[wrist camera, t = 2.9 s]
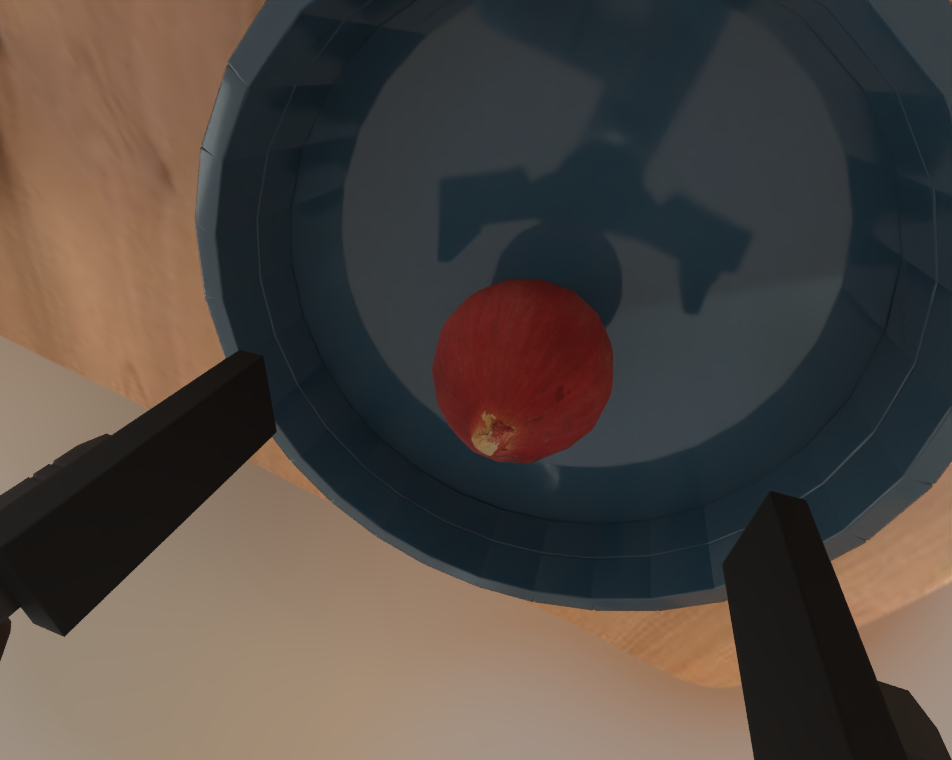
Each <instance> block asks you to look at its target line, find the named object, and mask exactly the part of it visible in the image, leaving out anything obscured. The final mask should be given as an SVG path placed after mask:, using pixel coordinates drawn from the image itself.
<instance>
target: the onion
mask: <svg viewBox="0 0 952 760" xmlns="http://www.w3.org/2000/svg"><path fill="white" fill-rule="evenodd" d="M432 375H433V382H434V388H435V395H436V400H437V404H438V407H439V409H440V411H441V412H442V414H443V416H444V418H445V419H446V421H447V423H448V425H449V427H450V428H451V429H452V430H453V431H454V432H455V433H456V435H457V436H458V437H459V438H460V439H461V440H462V441H463V442H464V443H465V444H466V445H467V446H468V447H469V448H470V449H471V450H472V451H473V452H476V453H478V454H480V455H483V456H485V457H487V458H490V459H492V460H494V461H497V462H509V463H524V464H529V463H533V462H536V461H538V460H541V459H543V458H546V457H548V456H550V455H553V454H555V453H558V452H560V451H563V450H566V449H568V448H570V447H571V446H572V445H573V444H575V443H576V442H577V441H578V440H580V439H581V438H582V437H584V436H585V435H586V434H587V433H589V432H590V431H591V430H592V429H593V428H594V426H595V424H596V423H597V421H598V420H599V418H600V416H601V414H602V412H603V410H604V408H605V406H606V404H607V402H608V400H609V398H610V396H611V391H612V386H613V350H612V345H611V341H610V339H609V337H608V334H607V332H606V330H605V328H604V326H603V323H602V321H601V319H600V317H599V314H598V313H597V312H596V311H595V310H594V309H592V308H591V307H590V306H589V305H588V304H587V303H586V302H585V301H584V300H583V299H582V298H581V297H580V296H579V295H578V294H576V293H575V292H574V291H572V290H570V289H567V288H564V287H561V286H559V285H556V284H553V283H550V282H548V281H545V280H542V279H507V280H504V281H502V282H499V283H497V284H494V285H491V286H489V287H486V288H484V289H481V290H479V291H477V292H476V293H474V294H472V295H471V296H469V297H468V298H467V299H466V300H465V301H464V302H463V303H462V304H461V305H460V306H459V307H458V308H457V309H456V310H455V311H454V312H453V314H452V315H451V316H450V317H449V318H448V319H447V321H446V322H445V324H444V326H443V328H442V329H441V332H440V336H439V340H438V344H437V348H436V352H435V356H434V360H433V366H432Z"/></svg>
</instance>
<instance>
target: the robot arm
mask: <svg viewBox="0 0 952 760" xmlns="http://www.w3.org/2000/svg"><path fill="white" fill-rule="evenodd" d="M276 432H277V430H276V424H275V419H274V413H273V407H272V401H271V396H270V390H269V384H268V379H267V373H266V367H265V362H264V356H262V355H258V354H255V353H251V352H247V351H243V350H238V351H237V352H235V353H234V354H232V355H231V356H229V357H228V358H226V359H225V360H223V361H222V362H220V363H219V364H217V365H216V366H214V367H213V368H211V369H210V370H208V371H207V372H205V373H204V374H202V375H201V376H199V377H198V378H196V379H195V380H193V381H192V382H190V383H189V384H187V385H186V386H184V387H183V388H181V389H180V390H178V391H177V392H175V393H174V394H173V395H171V396H170V397H168V398H167V399H165V400H164V401H162V402H161V403H159V404H158V405H156V406H155V407H153V408H152V409H150V410H149V411H147V412H146V413H144V414H143V415H141V416H140V417H138V418H137V419H135V420H134V421H132V422H131V423H129V424H128V425H126V426H125V427H123V428H122V429H120V430H119V431H117V432H116V433H114V434H113V435H109V434H104V435H102V436H99V437H97V438H95V439H92V440H90V441H87V442H85V443H82V444H80V445H78V446H76V447H74V448H73V449H71V450H70V451H68V452H67V453H65V454H64V455H62V456H61V457H59V458H57V459H56V460H54V463H53V464H52V465H50V464H48V465H47V466H45V467H44V468H42V469H41V470H39V471H37V472H36V473H34V475H33V477H32V478H29V477H28V478H27V479H25V480H24V481H22V482H21V483H19V484H18V485H16V486H14V487H13V488H11V489H10V490H8V491H7V492H5V493H3V494H2V495H0V660H1V657H2V655H3V652H4V649H5V646H6V643H7V640H8V637H9V635H10V631H11V621H10V619H9V618H8V617H9V616H10V615H12V614H13V613H14V612H15V611H16V610H17V609H19V608H20V607H21V608H22V609H23V610H24V612H25V613H26V614H27V616H28V617H29V618H30V620H31V621H32V622H33V623H34V624H36V625H38V626H40V627H43V628H45V629H47V630H50V631H52V632H54V633H57V634H59V635H61V636H64V637H65V636H66V635H67V634H68V633H69V632H70V631H71V630H72V629H73V628H74V627H75V626H76V625H77V624H78V623H79V622H80V621H81V620H82V619H83V618H84V617H85V616H86V615H87V614H88V613H89V612H91V611H92V609H94V608H95V607H96V606H97V605H98V604H99V603H100V602H101V601H102V600H103V599H104V598H105V597H106V596H107V595H108V594H109V593H110V592H111V591H112V590H113V589H114V588H115V587H116V586H118V585H119V584H120V583H121V582H122V581H123V580H124V579H125V578H126V577H127V576H128V575H129V574H130V573H131V572H132V571H133V570H134V569H135V568H136V567H137V566H138V565H139V564H140V563H141V562H142V561H143V560H144V559H146V557H147V556H149V555H150V553H152V552H153V551H154V550H155V549H156V548H157V547H158V546H159V545H160V544H161V543H162V542H163V541H164V540H165V539H166V538H167V537H168V536H169V535H170V534H171V533H172V532H174V530H175V529H177V528H178V526H180V525H181V524H182V523H183V522H184V521H185V520H186V519H187V518H188V517H189V516H190V515H191V514H192V513H193V512H194V511H195V510H196V509H197V508H198V507H199V506H200V505H201V504H203V503H204V502H205V501H206V499H208V498H209V497H210V496H211V495H212V494H213V493H214V492H215V491H216V490H217V489H218V488H219V487H220V486H221V485H222V484H223V483H224V482H225V481H226V480H227V479H228V478H229V477H231V476H232V475H233V474H234V473H235V472H236V471H237V470H238V469H239V468H240V467H241V466H242V465H243V464H244V463H245V462H246V461H247V460H248V459H249V458H250V457H251V456H252V455H253V454H254V453H255V452H257V451H258V450H259V449H260V448H261V447H262V446H263V445H264V444H265V443H266V442H267V441H268V440H269V439H270V438H271V437H272V436H273V435H274V434H275V433H276ZM722 567H723V573H724V579H725V585H726V591H727V598H728V604H729V610H730V616H731V622H732V628H733V634H734V640H735V646H736V652H737V658H738V664H739V670H740V676H741V682H742V688H743V694H744V700H745V706H746V712H747V718H748V724H749V731H750V736H751V743H752V748H753V754H754V760H951V758H950V755H949V753H948V751H947V749H946V746H945V744H944V742H943V740H942V738H941V736H940V733H939V731H938V729H937V728H936V726H935V725H934V724H933V722H932V721H931V720H930V718H929V717H928V716H927V715H926V713H925V712H924V711H923V709H922V708H921V707H920V705H919V704H918V703H917V701H916V700H915V699H914V697H913V696H912V695H911V694H910V692H909V691H908V690H904V689H902V688H898V687H895V686H892V685H889V684H886V683H883V682H880V681H877V679H876V676H875V674H874V671H873V669H872V666H871V664H870V661H869V658H868V656H867V653H866V651H865V648H864V646H863V643H862V641H861V638H860V635H859V633H858V630H857V628H856V625H855V623H854V620H853V618H852V615H851V612H850V610H849V607H848V605H847V602H846V600H845V597H844V595H843V592H842V590H841V587H840V584H839V582H838V579H837V577H836V574H835V572H834V569H833V567H832V564H831V561H830V559H829V556H828V554H827V551H826V549H825V546H824V544H823V541H822V538H821V536H820V533H819V531H818V528H817V526H816V523H815V521H814V518H813V515H812V513H811V510H810V508H809V505H808V503H807V500H804V499H800V498H797V497H793V496H789V495H785V494H782V493H778V492H774V491H769V493H768V494H767V496H766V497H765V499H764V500H763V502H762V503H761V505H760V506H759V508H758V510H757V511H756V513H755V514H754V516H753V517H752V519H751V520H750V522H749V523H748V525H747V526H746V528H745V530H744V531H743V533H742V534H741V536H740V537H739V539H738V540H737V542H736V543H735V545H734V547H733V548H732V550H731V551H730V553H729V554H728V556H727V557H726V559H725V560H724V562H723V564H722Z"/></svg>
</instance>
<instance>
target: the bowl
mask: <svg viewBox="0 0 952 760" xmlns="http://www.w3.org/2000/svg"><path fill="white" fill-rule="evenodd" d="M195 225H196V227H195V228H196V235H197V243H198V250H199V257H200V265H201V272H202V279H203V287H204V294H205V295H206V296H205V299H206V302H207V305H208V308H209V311H210V314H211V317H212V320H213V323H214V326H215V329H216V332H217V335H218V338H219V341H220V344H221V347H222V350H223V353H224V356H225V358H228V357H229V356H231V355H232V354H234V353H235V352H237V351H238V350H243V351H247V352H251V353H255V354H258V355H262V356H264V362H265V367H266V373H267V379H268V384H269V390H270V396H271V401H272V407H273V413H274V419H275V424H276V430H277V432H276V433H275V434H274V435H273V436H272V437H273V439H274V440H275V441H276V443H277V444H278V445H279V447H280V448H281V449H282V451H283V452H284V453H285V455H286V456H287V457H288V459H289V460H291V462H292V463H293V464H294V465H295V466H296V467H297V468H298V469H299V470H300V471H301V472H302V473H303V474H304V475H305V476H306V477H307V478H308V479H309V480H310V481H311V482H312V483H313V484H314V485H315V486H316V487H317V488H318V489H319V490H320V491H321V492H322V493H323V494H324V495H325V496H326V497H327V498H328V499H329V500H330V501H332V503H333V504H334V505H336V506H337V507H338V508H340V509H341V510H342V511H344V512H345V513H346V514H348V515H349V516H350V517H351V518H353V519H354V520H356V521H357V522H358V523H359V524H361V525H362V526H363V527H364V528H366V529H367V530H368V531H370V532H371V533H372V534H374V535H376V536H377V537H378V538H380V539H381V540H383V541H385V542H387V543H388V544H390V545H392V546H393V547H395V548H397V549H399V550H400V551H402V552H404V553H406V554H407V555H409V556H411V557H413V558H415V559H416V560H418V561H420V562H421V563H423V564H425V565H427V566H429V567H432V568H434V569H437V570H439V571H441V572H444V573H446V574H449V575H451V576H453V577H456V578H458V579H460V580H463V581H465V582H468V583H470V584H472V585H475V586H478V587H480V588H485V589H488V590H491V591H495V592H499V593H502V594H506V595H509V596H513V597H517V598H520V599H524V600H528V601H531V602H534V601H535V602H537V603H544V604H552V605H559V606H566V607H573V608H580V609H587V610H596V611H657V610H659V611H662V610H669V609H676V608H683V607H690V606H697V605H704V604H710V603H717V602H724V601H726V600H727V601H728V598H727V591H726V585H725V579H724V573H723V567H722V564H723V562H724V560H725V559H726V557H727V556H728V554H729V553H730V551H731V550H732V548H733V547H734V545H735V543H736V542H737V540H738V539H739V537H740V536H741V534H742V533H743V531H744V530H745V528H746V526H747V525H748V523H749V522H750V520H751V519H752V517H753V516H754V514H755V513H756V511H757V510H758V508H759V506H760V505H761V503H762V502H763V500H764V499H765V497H766V496H767V494H768V493H769V491H774V492H778V493H782V494H785V495H789V496H793V497H797V498H800V499H804V500H807V503H808V505H809V508H810V510H811V513H812V515H813V518H814V521H815V523H816V526H817V528H818V531H819V533H820V536H821V538H822V541H823V544H824V546H825V549H826V551H827V554H828V556H829V559H830V561H831V560H833V559H835V558H837V557H839V556H841V555H843V554H845V553H847V552H848V551H850V550H852V549H854V548H856V547H858V546H860V545H862V544H864V543H865V542H866V540H869V539H870V538H871V537H873V536H874V535H875V534H876V533H877V532H879V531H880V530H881V529H882V528H884V527H885V526H886V525H887V524H888V523H890V522H891V521H892V520H893V519H894V518H896V517H897V516H898V515H899V514H900V513H902V512H903V511H904V510H905V509H906V508H908V507H909V506H910V505H911V504H912V503H914V502H915V501H916V500H917V499H918V498H920V497H921V496H922V495H923V494H925V493H926V492H927V491H928V490H929V489H931V488H932V486H933V485H932V484H935V483H936V482H937V481H938V479H939V478H940V477H941V475H942V474H943V473H944V471H945V470H946V468H947V467H948V466H949V464H950V463H951V462H952V3H951V2H950V0H266V1H265V3H264V5H263V6H262V8H261V9H260V11H259V13H258V14H257V16H256V17H255V19H254V20H253V22H252V24H251V25H250V27H249V28H248V30H247V32H246V33H245V35H244V36H243V38H242V40H241V41H240V43H239V44H238V46H237V48H236V49H235V51H234V52H233V54H232V56H231V57H230V59H229V60H228V65H227V66H226V69H225V72H224V75H223V79H222V82H221V85H220V88H219V91H218V95H217V98H216V101H215V104H214V107H213V110H212V114H211V117H210V120H209V123H208V126H207V130H206V133H205V136H204V139H203V142H202V147H201V148H200V160H199V174H198V188H197V202H196V216H195ZM507 279H542V280H545V281H548V282H550V283H553V284H556V285H559V286H561V287H564V288H567V289H570V290H572V291H574V292H575V293H576V294H578V295H579V296H580V297H581V298H582V299H583V300H584V301H585V302H586V303H587V304H588V305H589V306H590V307H591V308H592V309H594V310H595V311H596V312H597V313H598V314H599V317H600V319H601V321H602V323H603V326H604V328H605V330H606V332H607V334H608V337H609V339H610V341H611V345H612V350H613V386H612V391H611V396H610V398H609V400H608V402H607V404H606V406H605V408H604V410H603V412H602V414H601V416H600V418H599V420H598V421H597V423H596V424H595V426H594V428H593V429H592V430H591V431H590V432H589V433H587V434H586V435H585V436H584V437H582V438H581V439H580V440H578V441H577V442H576V443H575V444H573V445H572V446H571V447H570V448H568V449H566V450H563V451H560V452H558V453H555V454H553V455H550V456H548V457H546V458H543V459H541V460H538V461H536V462H533V463H529V464H524V463H509V462H497V461H494V460H492V459H490V458H487V457H485V456H483V455H480V454H478V453H476V452H473V451H472V450H471V449H470V448H469V447H468V446H467V445H466V444H465V443H464V442H463V441H462V440H461V439H460V438H459V437H458V436H457V435H456V433H455V432H454V431H453V430H452V429H451V428H450V427H449V425H448V423H447V421H446V419H445V418H444V416H443V414H442V412H441V411H440V409H439V407H438V404H437V400H436V395H435V388H434V382H433V375H432V366H433V360H434V356H435V352H436V348H437V344H438V340H439V336H440V332H441V329H442V328H443V326H444V324H445V322H446V321H447V319H448V318H449V317H450V316H451V315H452V314H453V312H454V311H455V310H456V309H457V308H458V307H459V306H460V305H461V304H462V303H463V302H464V301H465V300H466V299H467V298H468V297H469V296H471V295H472V294H474V293H476V292H477V291H479V290H481V289H484V288H486V287H489V286H491V285H494V284H497V283H499V282H502V281H504V280H507Z"/></svg>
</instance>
